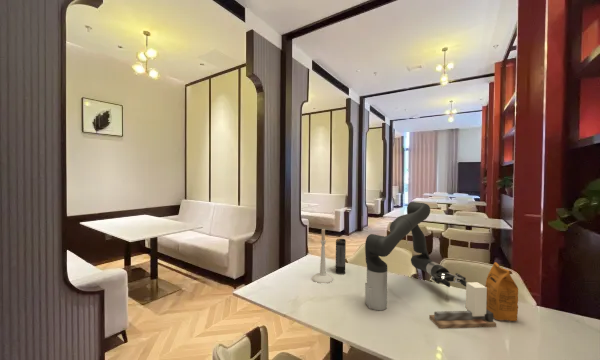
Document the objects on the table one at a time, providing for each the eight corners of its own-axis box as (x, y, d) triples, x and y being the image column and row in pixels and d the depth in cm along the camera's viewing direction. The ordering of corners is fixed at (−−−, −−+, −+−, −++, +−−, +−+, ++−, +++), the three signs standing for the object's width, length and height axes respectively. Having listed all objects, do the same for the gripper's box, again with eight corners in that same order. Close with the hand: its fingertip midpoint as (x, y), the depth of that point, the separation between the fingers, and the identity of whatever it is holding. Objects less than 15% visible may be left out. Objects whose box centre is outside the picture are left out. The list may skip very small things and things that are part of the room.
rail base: (439, 328, 101) (439, 316, 100) (429, 318, 108) (429, 306, 107) (496, 326, 102) (496, 314, 102) (482, 317, 109) (483, 305, 109)
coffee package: (504, 309, 116) (506, 262, 115) (521, 324, 104) (522, 272, 103) (480, 306, 118) (481, 260, 118) (493, 321, 106) (494, 269, 106)
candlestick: (335, 283, 141) (335, 231, 141) (312, 283, 141) (312, 230, 141) (332, 274, 154) (332, 226, 154) (311, 274, 154) (312, 226, 154)
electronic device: (345, 274, 154) (345, 242, 154) (335, 273, 155) (335, 242, 155) (345, 269, 163) (345, 238, 163) (336, 268, 165) (336, 238, 164)
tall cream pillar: (474, 317, 102) (475, 287, 102) (465, 310, 107) (466, 282, 107) (486, 317, 103) (486, 287, 102) (476, 310, 108) (477, 282, 107)
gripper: (424, 264, 131) (443, 277, 115) (450, 264, 132) (473, 276, 116) (424, 278, 132) (443, 293, 115) (450, 278, 132) (472, 292, 116)
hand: (458, 284), depth 116 cm, fingers open, 8 cm apart
